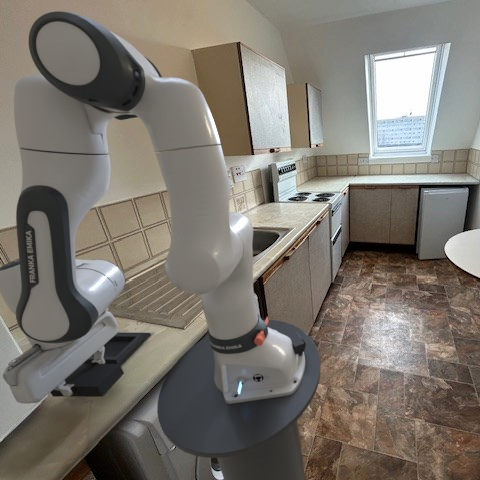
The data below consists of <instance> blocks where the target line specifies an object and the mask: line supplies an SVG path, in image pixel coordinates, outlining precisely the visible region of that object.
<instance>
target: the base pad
mask: <svg viewBox="0 0 480 480" xmlns="http://www.w3.org/2000/svg"><path fill="white" fill-rule="evenodd" d="M151 336H152V334H151V332H118V333H117V334H116V335H115V336H114V337H112V338H111V339H110V340H109V341H108V342H107V343H106V344H105V345H103V346H104V348H105V351H104V357H103V358H104V360H105V363H104V364H120V366H121V367H122V365H123V364H124V363H125V362H126V361H127V360H128V359H129V358H130V357H131V356H132V355H133V354H134V353H135V352H136V351H137V350H138V349H139V348H140V347H141V345H143V343H144V342H146V341H147V340H148V338H149V337H151ZM93 360H94V354H93V355H92V356H91V357H90V358H89V359H87V360H86V361H85V362H84V363H83V364H92V363H91V362H92V361H93Z"/></svg>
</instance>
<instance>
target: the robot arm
mask: <svg viewBox="0 0 480 480" xmlns="http://www.w3.org/2000/svg"><path fill="white" fill-rule="evenodd" d="M28 49H29V53H30V57H31V59H32V61H33V63H34V66H35V67H36V69H37V70H38V72H39V73H35V74H29V75H24V76H22V77H21V78H19V79H18V80H17V82H16V83H15V86H14V91H13V92H14V94H13V115H14V127H15V132H16V134H15V135H16V140H17V144H18V145H17V146H18V148H19V154H20V159H21V174H22V175H21V176H22V178H21V179H22V180H21V189H20V193H19V196H18V200H17V203H16V211H15V222H16V223H15V224H16V238H17V249H18V258H17V259H13V260H12V261H9V262H8V263H5V264H3V265H2V266H0V296H1V297H2V299H3V301H4V302H5V304H6V306H7V308H8V310H9V311H10V312H11V313H12V314H13V315H15V320H16V323H17V325H18V327H19V329H20V330H21V331H22V333H23V334H24V336H25V337H26V339H27V341H28V342H29V344H30V346H31V347H30V348H28V349H27V350H25V351H24V352H23V353H22V354H20V355H19V356H17V357H15V358H14V359H12V360H11V361H9V362H8V365H7V367H6V368H5V370H4V371H3V373H2V378H3V380H4V381H5V382H6V384H7V385H8V386H9V389H10V391H11V394H12V396H13V397H14V399H15V401H16V402H17V403H18V404H38V403H39V402H41V401H42V400H44V399H45V398H46V397H47V396H48V395H49V394H51V393H50V392H51V391H52V390H58V391H61V393H62V394H63V396H71V395H72V394H73V393H74V392H75V391H76V390H77V389H76V388H75V385H74V384H71V385H70V384H67V385H65V386H63V385H64V384H65V383H66V382H65V379H66V378H67V377H68V376H69V375H70V374H72V373H73V372H74V371H75V370H76V369H77V368H78V367H80V366H81V365H82V364H83V363H84V362H85V361H86V360H87V359H89V358H90V357H91V356H92V355H93V354H94V360H93V361H92V362H91V363H92V364H104V363H105V360H104V358H103V357H104V351H105V348H104V346H103V345H105V344H106V343H107V342H108V341H109V340H110V339H111V338H112V337H114V336H115V335H116V334H117V333H119V328H120V327H119V324H118V322H117V320H116V318H115V317H114V315H113V313H112V312H110V311H109V307H110V306H111V305H112V304H113V303H114V301H115V300H116V299H117V298H118V297H119V296H120V294H121V293H122V291H124V289H125V287H126V282H127V281H126V276H125V273H124V272H123V271H122V268H121V267H119V266H118V265H116V263H114V262H112V261H109V260H106V259H102V258H94V259H76V234H77V230H78V227H79V226H80V224H81V222H82V221H83V219H84V218H85V216H86V215H87V214H88V213H89V211H90V210H91V209H92V208H93V207H94V206H95V205H96V204H97V203H98V202H99V201H100V200H101V199H102V198H103V197H104V196H105V195H106V194H107V193H108V191H109V189H110V183H111V173H112V170H111V168H112V166H111V158H110V153H109V152H110V151H109V145H108V135H107V134H108V133H107V131H108V125H109V123H110V122H111V120H113V119H115V120H119V121H125V120H129V119H134V118H138V119H139V120H140V121H141V122H142V123H143V125H144V127H145V129H146V130H147V133H148V135H149V138H150V140H151V144H152V148H153V150H154V153H155V157H156V161H157V162H158V166H159V169H160V172H161V176H162V180H163V183H164V185H165V188H166V191H167V196H168V201H169V209H170V243H169V249H168V252H167V255H166V257H165V262H164V269H165V274H166V276H167V277H168V279H169V282H171V283H172V285H173V286H175V288H177V289H179V290H180V291H182V292H184V293H187V294H190V295H201V306H202V311H203V314H204V317H205V321H206V325H207V331H206V332H207V337H209V342H210V346H211V348H212V349H213V351H214V358H215V374H214V382H215V385H216V387H217V388H218V389H219V390H220V391H221V392H222V393H223V395H224V399H225V402H226V403H227V404H233V403H240V402H247V401H254V400H261V399H268V398H275V397H282V396H288V395H292V394H293V393H294V392H295V391H296V390H297V388H298V387H299V385H300V383H301V381H302V378H303V375H304V370H305V356H304V352H303V351H305V347H306V343H305V341H304V340H303V339H301V338H300V336H299V334H298V333H297V332H294V333H292V334H289V335H288V336H286V335H283V334H281V333H279V332H278V331H276V330H273V329H271V328H269V327H267V324H268V320H269V316H266V317H265V319H262V317H261V316H260V315H259V313H258V309H257V303H256V297H255V289H254V252H253V242H254V241H253V239H254V226H253V225H252V223H251V221H250V219H249V218H248V217H246V215H245V214H242V213H240V212H236V211H230V197H231V196H230V195H231V192H232V191H231V189H232V185H231V181H230V176H229V173H228V168H227V163H226V160H225V156H224V151H223V148H222V145H221V144H222V143H221V139H220V136H219V132H218V129H217V126H216V122H215V120H214V117H213V114H212V112H211V109H210V106H209V105H208V103H207V100H206V98H205V95H204V94H203V92H202V91H201V89H200V88H199V87H198V86H197V85H196V84H194V83H193V82H192V81H189V80H186V79H185V78H180V77H175V76H168V77H166V76H164V77H163V76H162V74H161V72H160V71H159V69H158V68H157V67H156V65H155V64H154V63H153V62H152V60H150V59H149V58H147V57H146V56H145V55H143V54H142V53H141V52H140V51H138V49H137V48H135V46H133V45H132V44H131V43H130V42H129V41H127V40H126V39H124V38H123V37H121V36H119V34H116V33H115V32H113V31H111V30H109V29H108V28H106V27H105V26H104V25H102V24H101V23H99V22H97V21H95V20H93V19H91V18H89V17H86V16H84V15H81V14H79V13H73V12H69V11H60V10H59V11H50V12H46V13H44V14H42V15H40V16H38V18H36V20H35V21H34V22H33V24H32V25H31V27H30V30H29V34H28ZM263 320H265V322H264V321H263ZM295 382H296V383H295ZM236 396H237V397H236Z"/></svg>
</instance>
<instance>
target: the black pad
mask: <svg viewBox="0 0 480 480" xmlns="http://www.w3.org/2000/svg"><path fill="white" fill-rule="evenodd" d="M124 374H125V372H124V370H123V369H122V365H121V366H120V364H82V365H81V366H80V367H78V368H77V369H76V370H75V371H74V372H73V373H72V374H70V375H69V376H68V377H67V378H66V379H65V382H66V383H65V384H64V385H63V386H65V385H67V384H70V385H71V384H74V385H75V388H76V389H77V390H76V391H75V392H74V393H73V394H72V395H71V396H63V394H62V393H61V391H58V390H52V391H51V392H50V393H49V394H51V396H52V397H53V398H55V397H59V398H62V397H63V398H65V397H67V398H68V397H70V398H71V397H74V398H75V397H76V398H77V397H78V398H80V397H81V398H83V397H84V398H85V397H86V398H87V397H89V398H90V397H91V398H92V397H93V398H94V397H95V398H103V397H104V396H105V395H106V394H107V393H108V392H109V391H110V390H111V388H113V387H114V386H115V384H116V383H117V382H118V381H119V380H120V378H122V376H123V375H124Z"/></svg>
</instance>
